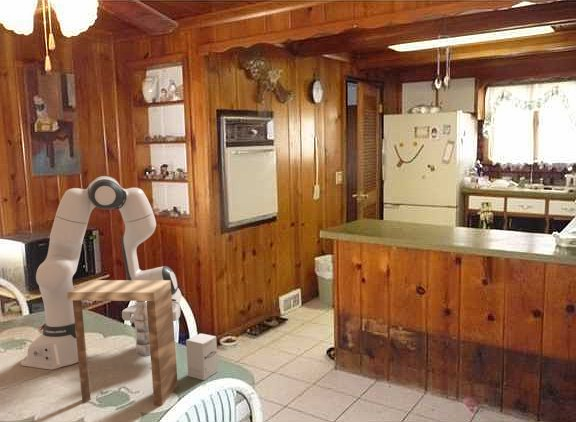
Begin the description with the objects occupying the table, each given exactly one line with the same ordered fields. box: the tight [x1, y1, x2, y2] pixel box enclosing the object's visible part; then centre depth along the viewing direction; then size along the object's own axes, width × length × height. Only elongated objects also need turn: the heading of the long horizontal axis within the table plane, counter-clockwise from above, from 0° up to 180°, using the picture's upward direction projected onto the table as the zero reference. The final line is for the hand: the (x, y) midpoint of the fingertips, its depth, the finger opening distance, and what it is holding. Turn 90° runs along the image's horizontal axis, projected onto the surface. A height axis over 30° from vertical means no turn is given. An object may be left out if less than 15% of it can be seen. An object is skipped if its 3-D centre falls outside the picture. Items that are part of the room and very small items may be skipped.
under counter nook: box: [67, 279, 179, 406], centre depth 157 cm, size 27×13×34 cm, turn 82°
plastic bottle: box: [133, 301, 151, 358], centre depth 177 cm, size 6×7×20 cm
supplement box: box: [185, 333, 219, 381], centre depth 170 cm, size 7×7×13 cm
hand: (142, 321), depth 176 cm, fingers closed on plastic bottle, 6 cm apart
